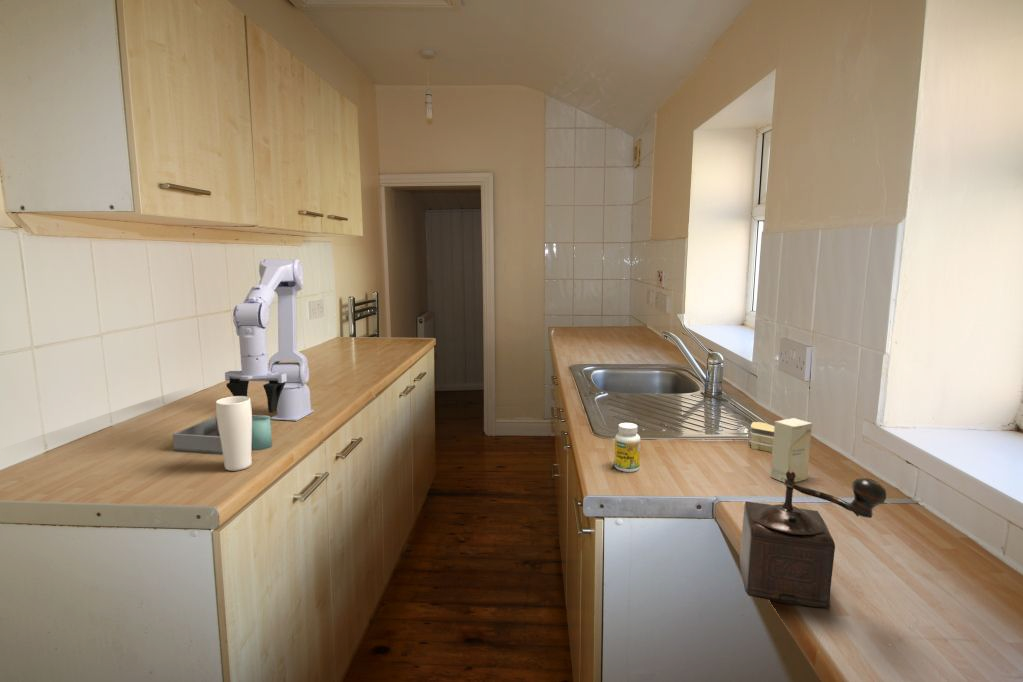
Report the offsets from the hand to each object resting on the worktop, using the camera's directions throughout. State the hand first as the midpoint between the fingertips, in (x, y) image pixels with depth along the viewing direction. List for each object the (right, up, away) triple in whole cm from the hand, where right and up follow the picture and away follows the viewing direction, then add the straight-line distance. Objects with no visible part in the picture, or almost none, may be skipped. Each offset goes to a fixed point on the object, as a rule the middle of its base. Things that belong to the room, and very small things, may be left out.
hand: (258, 410), depth 131 cm
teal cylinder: (0, -9, +1) cm, 9 cm away
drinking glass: (+1, -11, -11) cm, 16 cm away
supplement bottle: (+85, -11, -11) cm, 86 cm away
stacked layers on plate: (+121, -10, +2) cm, 121 cm away
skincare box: (+118, -12, -16) cm, 119 cm away
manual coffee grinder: (+101, -18, -53) cm, 115 cm away
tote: (-11, -8, +6) cm, 15 cm away
